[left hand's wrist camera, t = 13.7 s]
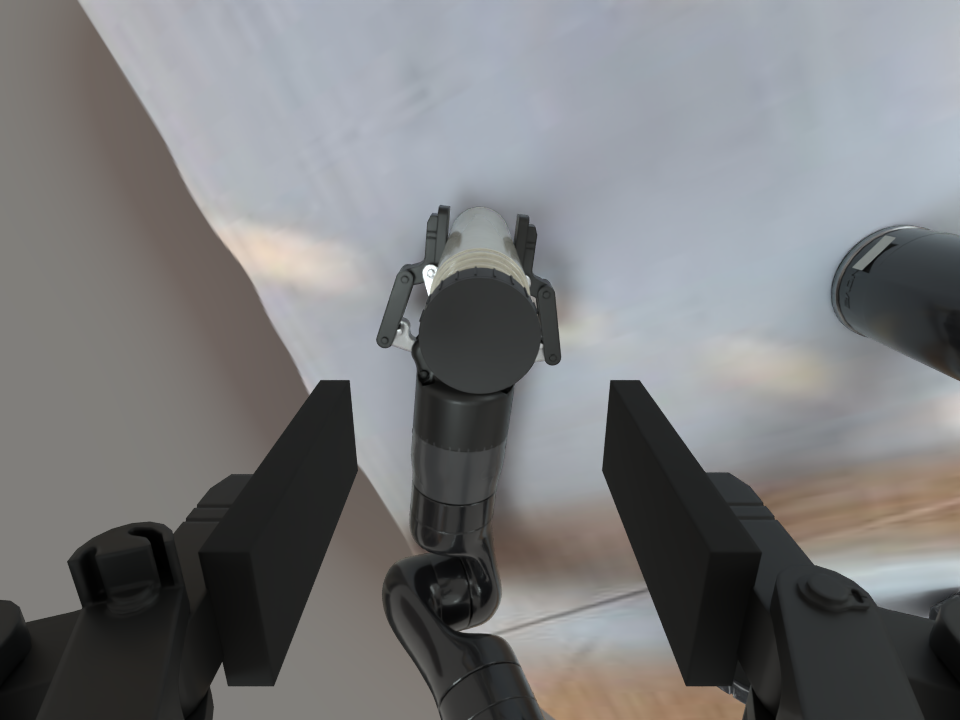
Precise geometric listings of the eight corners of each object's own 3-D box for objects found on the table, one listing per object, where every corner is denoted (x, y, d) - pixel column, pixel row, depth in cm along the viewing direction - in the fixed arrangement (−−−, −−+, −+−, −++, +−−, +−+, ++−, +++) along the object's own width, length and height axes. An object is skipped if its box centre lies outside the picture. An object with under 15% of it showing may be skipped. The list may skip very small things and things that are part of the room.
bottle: (494, 274, 45) (511, 409, 22) (441, 252, 45) (399, 365, 21) (518, 221, 44) (564, 302, 20) (464, 197, 43) (444, 252, 19)
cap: (508, 391, 23) (511, 411, 21) (406, 351, 22) (399, 368, 21) (556, 293, 22) (563, 306, 20) (447, 247, 21) (445, 256, 19)
